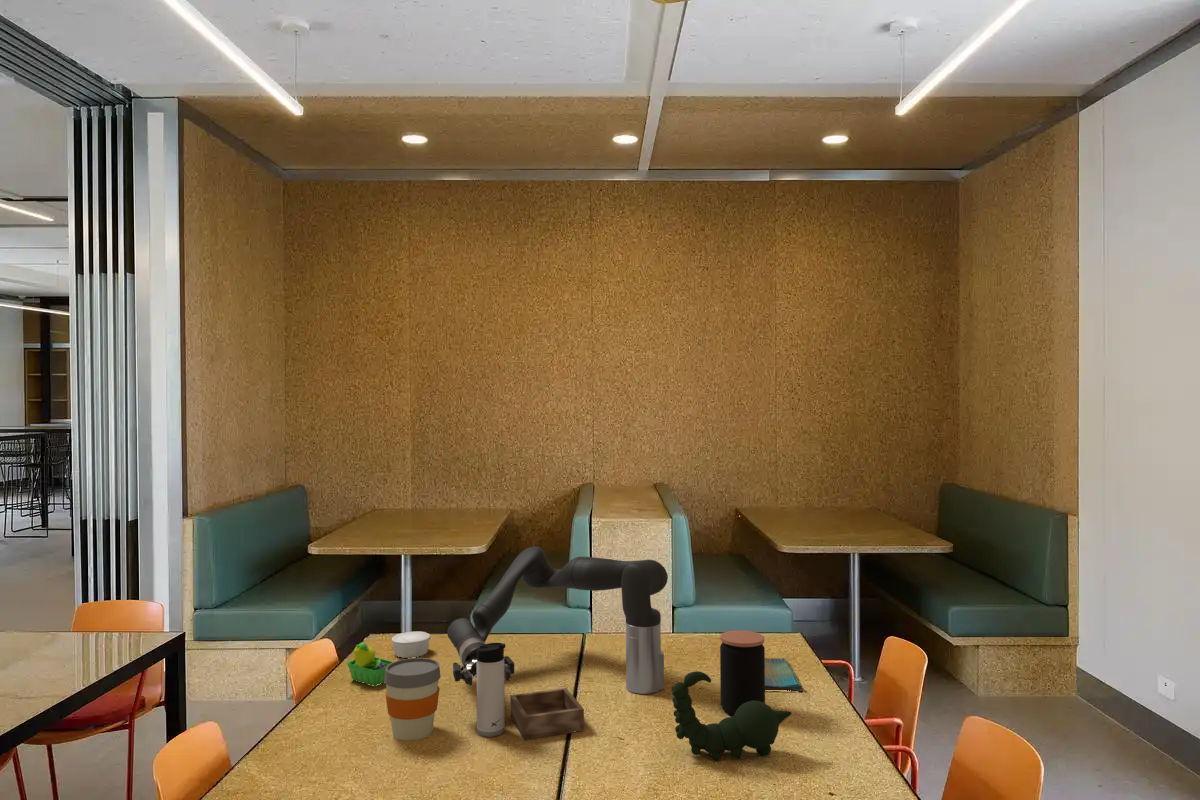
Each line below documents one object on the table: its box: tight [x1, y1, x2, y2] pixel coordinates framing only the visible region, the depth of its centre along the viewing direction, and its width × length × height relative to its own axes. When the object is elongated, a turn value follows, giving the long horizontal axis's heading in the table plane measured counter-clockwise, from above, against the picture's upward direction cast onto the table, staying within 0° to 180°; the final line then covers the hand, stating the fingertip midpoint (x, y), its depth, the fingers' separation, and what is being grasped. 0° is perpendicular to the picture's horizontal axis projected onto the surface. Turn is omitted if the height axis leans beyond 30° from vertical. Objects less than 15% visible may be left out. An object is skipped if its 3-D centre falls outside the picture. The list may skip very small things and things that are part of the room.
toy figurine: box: [670, 670, 792, 761], centre depth 164 cm, size 9×19×25 cm
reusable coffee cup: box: [384, 657, 441, 741], centre depth 177 cm, size 13×13×15 cm
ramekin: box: [391, 631, 431, 659], centre depth 232 cm, size 11×11×5 cm
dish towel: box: [765, 657, 803, 692], centre depth 211 cm, size 17×23×2 cm
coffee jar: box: [719, 629, 766, 717], centre depth 188 cm, size 11×11×18 cm
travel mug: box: [476, 642, 506, 738], centre depth 177 cm, size 6×7×20 cm
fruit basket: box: [346, 642, 394, 687], centre depth 209 cm, size 11×9×11 cm
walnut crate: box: [509, 687, 585, 741], centre depth 181 cm, size 14×14×5 cm
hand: (489, 679), depth 178 cm, fingers open, 8 cm apart
